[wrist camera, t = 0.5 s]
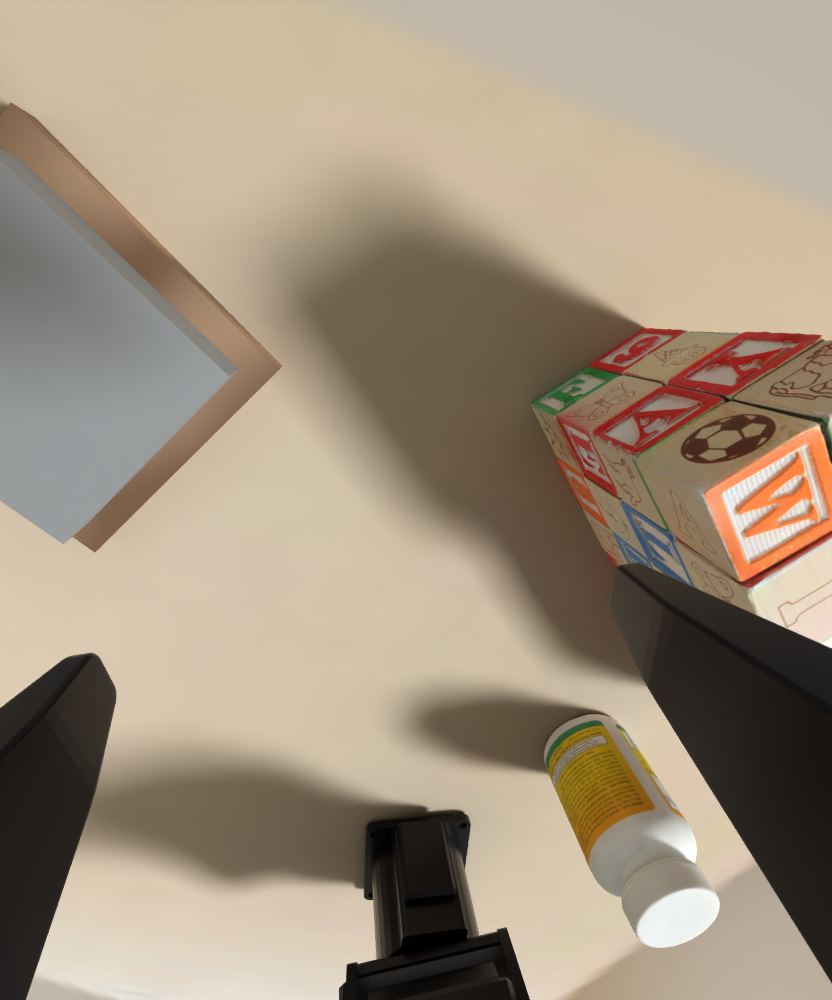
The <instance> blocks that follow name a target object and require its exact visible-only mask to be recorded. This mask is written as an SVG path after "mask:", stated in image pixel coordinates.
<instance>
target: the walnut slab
mask: <svg viewBox="0 0 832 1000" xmlns="http://www.w3.org/2000/svg"><path fill="white" fill-rule="evenodd" d="M0 149H1V150H3V151H5V152H7V153H9V154H11V155H14V156H16V157H18V158H19V159H20V160H21V161H22V162H23V163H24V164H25V165H26V166H28V167H29V168H30V169H31V170H32V171H33V172H34V173H35V174H36V175H37V176H38V177H39V178H40V179H41V180H42V181H43V182H44V183H45V184H46V185H47V186H48V187H49V188H50V189H52V190H53V191H54V192H55V193H56V194H57V195H58V196H59V197H60V198H61V199H62V200H63V201H64V202H65V203H66V204H67V205H68V206H69V207H70V208H71V209H72V210H73V211H74V212H76V213H77V214H78V215H79V216H80V217H81V218H82V219H83V220H84V221H85V222H86V223H87V224H88V225H89V226H90V227H91V228H92V229H93V230H94V231H95V232H96V233H97V234H98V235H100V236H101V237H102V238H103V239H104V240H105V241H106V242H107V243H108V244H109V245H110V246H111V247H112V248H113V249H114V250H115V251H116V252H117V253H118V254H119V255H120V256H121V257H123V258H124V259H125V260H126V261H127V262H128V263H129V264H130V265H131V266H132V267H133V268H134V269H135V270H136V271H137V272H138V273H139V274H140V275H141V276H142V277H143V278H144V279H145V280H147V281H148V282H149V283H150V284H151V285H152V286H153V287H154V288H155V289H156V290H157V291H158V292H159V293H160V294H161V295H162V296H163V297H164V298H165V299H166V300H167V301H168V302H169V303H171V304H172V305H173V306H174V307H175V308H176V309H177V310H178V311H179V312H180V313H181V314H182V315H183V316H184V317H185V318H186V319H187V320H188V321H189V322H190V323H191V324H192V325H193V326H195V327H196V328H197V329H198V330H199V331H200V332H201V333H202V334H203V335H204V336H205V337H206V338H207V339H208V340H209V341H210V342H211V343H212V344H213V345H214V346H215V347H216V348H218V349H219V350H220V351H221V352H222V353H223V354H224V355H225V356H226V357H227V358H228V359H229V360H230V361H231V362H232V363H233V364H234V365H235V366H236V367H237V368H238V369H239V370H238V371H237V372H236V373H235V374H234V375H233V376H232V377H231V378H230V379H229V380H228V381H227V382H226V383H225V384H224V385H223V386H222V387H221V388H220V389H219V391H218V392H217V393H216V394H215V395H214V396H213V397H212V398H211V399H210V400H209V401H208V402H207V403H206V404H205V405H204V406H203V407H202V408H201V409H200V410H199V411H198V412H197V413H196V414H195V415H194V416H193V417H192V418H191V419H190V420H189V421H188V422H187V423H186V424H185V425H184V426H183V427H182V428H181V429H180V430H179V431H178V432H177V433H176V434H175V435H174V436H173V437H172V438H171V439H170V440H169V441H168V442H167V443H166V444H165V445H164V446H163V447H162V448H161V450H160V451H159V452H158V453H157V454H156V455H155V456H154V457H153V458H152V459H151V460H150V461H149V462H148V463H147V464H146V465H145V466H144V467H143V468H142V469H141V470H140V471H139V472H138V473H137V474H136V475H135V476H134V477H133V478H132V479H131V480H130V481H129V482H128V483H127V484H126V485H125V486H124V487H123V488H122V489H121V490H120V491H119V492H118V493H117V494H116V495H115V496H114V497H113V498H112V499H111V500H110V501H109V502H108V503H107V504H106V505H105V506H104V507H103V509H102V510H101V511H100V512H99V513H98V514H97V515H96V516H95V517H94V518H93V519H92V520H91V521H90V522H89V523H88V524H86V525H85V526H84V527H83V528H82V529H81V530H79V531H78V532H77V533H76V534H75V535H74V536H72V537H74V538H75V539H77V540H78V541H79V542H81V543H82V544H84V545H85V546H87V547H88V548H89V549H91V550H92V551H94V552H96V551H97V550H98V549H99V548H100V547H101V546H102V545H103V544H104V543H105V542H106V541H107V540H108V539H109V538H110V537H111V536H112V535H113V534H114V533H115V532H116V531H117V530H118V529H119V528H120V527H121V526H122V525H123V524H124V523H125V522H126V521H127V520H128V519H129V518H130V517H131V516H132V515H133V514H134V513H135V512H136V511H137V510H138V509H139V508H140V507H141V506H142V505H143V504H144V503H145V502H146V501H147V500H148V499H149V498H150V497H151V496H152V495H153V494H154V493H155V492H156V491H157V490H158V489H159V488H160V487H161V486H162V485H163V484H164V483H165V482H166V481H167V480H168V479H169V478H170V477H171V476H172V475H173V474H175V473H176V472H177V471H178V470H179V469H180V468H181V467H182V466H183V465H184V464H185V463H186V462H187V461H188V460H189V459H190V458H191V457H192V456H193V455H194V454H195V453H196V452H197V451H198V450H199V449H200V448H201V447H202V446H203V445H204V444H205V443H206V442H207V441H208V440H209V439H210V438H211V437H212V436H213V435H214V434H215V433H216V432H217V431H218V430H219V429H220V428H221V427H222V426H223V425H224V424H225V423H226V422H227V421H228V420H229V419H230V418H231V417H232V416H233V415H234V414H235V413H236V412H237V411H238V410H239V409H240V408H241V407H242V406H243V405H244V404H245V403H246V402H247V401H248V400H249V399H250V398H251V397H252V396H253V395H254V394H255V393H256V392H257V391H258V390H259V389H260V388H261V387H262V386H263V385H264V384H265V383H266V382H267V381H268V380H269V379H270V378H271V377H272V376H273V375H274V374H275V373H276V372H277V371H278V370H279V369H280V368H281V367H282V365H281V364H280V363H279V362H278V361H277V360H276V359H275V358H274V357H273V356H272V355H271V354H270V353H269V352H268V351H267V350H266V349H265V348H264V347H263V346H262V345H261V344H260V343H259V342H258V341H257V340H256V339H255V338H254V337H253V336H252V335H251V334H250V333H249V332H248V331H247V330H246V329H245V328H244V327H243V326H242V325H241V324H240V323H239V322H238V321H237V320H236V319H235V318H234V317H233V316H232V315H231V314H230V313H229V312H228V311H227V310H226V309H225V308H224V307H223V306H222V305H221V304H220V303H219V302H218V301H217V300H216V299H215V298H214V297H213V296H212V295H211V294H210V293H209V292H208V291H207V290H206V289H205V288H204V287H203V286H202V285H201V284H200V283H199V282H198V281H197V280H196V279H195V278H194V277H193V276H192V275H191V274H190V273H189V272H188V271H187V270H186V269H185V268H184V267H183V266H182V265H181V264H180V263H179V262H178V261H177V260H176V259H175V258H174V257H173V256H172V255H171V254H170V253H169V252H168V251H167V250H166V249H165V248H164V247H163V246H162V245H161V243H160V242H159V241H158V240H157V239H156V238H155V237H154V236H153V235H152V234H151V233H150V232H149V231H148V230H147V229H146V228H145V227H144V226H143V225H142V224H141V223H140V222H139V221H138V220H137V219H136V218H135V217H134V216H133V215H132V214H131V213H130V212H129V211H128V210H127V209H126V208H125V207H124V206H123V205H122V204H121V203H120V202H119V201H118V200H117V199H116V198H115V197H114V196H113V195H112V194H111V193H110V192H109V191H108V190H107V189H106V188H105V187H104V186H103V185H102V184H101V183H100V182H99V181H98V180H97V179H96V178H95V177H94V176H93V175H92V174H91V173H90V172H89V171H88V170H87V169H86V168H85V167H84V166H83V165H82V164H81V163H80V162H79V161H78V160H77V159H76V158H75V157H74V156H73V155H72V154H71V153H70V152H69V151H68V150H67V149H66V148H65V147H64V146H63V145H62V144H61V143H60V142H59V141H58V140H57V139H56V138H55V137H54V136H53V135H52V134H51V133H50V132H49V131H48V130H47V129H46V128H45V127H44V126H43V125H42V124H41V123H40V122H39V121H38V120H37V119H36V118H35V117H33V116H32V115H30V114H29V113H27V112H25V111H24V110H22V109H21V108H19V107H17V106H16V105H14V104H13V103H10V104H9V105H8V107H7V108H6V109H5V110H4V112H3V113H2V114H1V115H0Z"/></svg>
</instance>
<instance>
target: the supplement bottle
mask: <svg viewBox="0 0 832 1000" xmlns="http://www.w3.org/2000/svg"><path fill="white" fill-rule="evenodd" d="M544 762H545V766H546V768H547V771H548V773H549V776H550V778H551V780H552V783H553V785H554V787H555V790H556V792H557V794H558V797H559V799H560V801H561V803H562V806H563V808H564V810H565V813H566V815H567V817H568V820H569V822H570V824H571V826H572V828H573V831H574V833H575V835H576V838H577V840H578V842H579V844H580V847H581V849H582V851H583V853H584V856H585V858H586V861H587V863H588V866H589V868H590V870H591V872H592V874H593V876H594V877H595V879H596V880H597V882H598V883H599V884H600V886H601V887H602V888H603V889H605V890H606V891H607V892H609V893H610V894H612V895H614V896H616V897H618V898H621V899H622V907H623V911H624V913H625V915H626V916H627V918H628V920H629V922H630V925H631V926H632V928H633V930H634V932H635V934H636V936H637V938H638V939H639V940H640V941H641V942H642V943H644V944H646V945H648V946H651V947H658V948H663V947H671V946H675V945H678V944H681V943H684V942H687V941H689V940H691V939H693V938H695V937H696V936H698V935H699V934H701V933H702V932H703V931H704V930H706V929H707V928H708V927H709V926H710V925H711V924H712V922H713V921H714V919H715V918H716V916H717V914H718V911H719V906H720V905H719V899H718V897H717V895H716V893H715V891H714V890H713V888H712V887H711V885H710V883H709V882H708V880H707V879H706V877H705V875H704V873H703V871H702V870H701V869H700V868H699V867H698V866H697V865H696V864H695V863H694V862H695V859H696V852H697V847H696V840H695V837H694V834H693V832H692V830H691V828H690V826H689V825H688V823H687V821H686V820H685V818H684V817H683V815H682V814H681V812H680V811H679V809H678V808H677V806H676V805H675V803H674V802H673V800H672V799H671V797H670V796H669V794H668V793H667V791H666V790H665V788H664V787H663V785H662V784H661V782H660V781H659V779H658V778H657V776H656V775H655V773H654V772H653V770H652V769H651V767H650V766H649V764H648V763H647V761H646V760H645V758H644V757H643V755H642V754H641V752H640V751H639V749H638V748H637V746H636V745H635V743H634V742H633V741H632V739H631V738H630V736H629V735H628V733H627V732H626V730H625V729H624V728H623V726H622V725H621V724H620V723H619V722H617V721H616V720H614V719H613V718H611V717H608V716H605V715H599V714H590V715H584V716H580V717H578V718H575V719H572V720H569V721H568V722H566V723H564V724H563V725H561V726H560V727H559V728H557V729H556V730H555V731H554V732H553V734H552V735H551V736H550V738H549V740H548V742H547V744H546V746H545V750H544Z"/></svg>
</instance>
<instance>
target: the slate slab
mask: <svg viewBox="0 0 832 1000" xmlns="http://www.w3.org/2000/svg"><path fill="white" fill-rule="evenodd" d="M238 370H239V369H238V368H237V367H236V366H235V365H234V364H233V363H232V362H231V361H230V360H229V359H228V358H227V357H226V356H225V355H224V354H223V353H222V352H221V351H220V350H219V349H218V348H216V347H215V346H214V345H213V344H212V343H211V342H210V341H209V340H208V339H207V338H206V337H205V336H204V335H203V334H202V333H201V332H200V331H199V330H198V329H197V328H196V327H195V326H193V325H192V324H191V323H190V322H189V321H188V320H187V319H186V318H185V317H184V316H183V315H182V314H181V313H180V312H179V311H178V310H177V309H176V308H175V307H174V306H173V305H172V304H171V303H169V302H168V301H167V300H166V299H165V298H164V297H163V296H162V295H161V294H160V293H159V292H158V291H157V290H156V289H155V288H154V287H153V286H152V285H151V284H150V283H149V282H148V281H147V280H145V279H144V278H143V277H142V276H141V275H140V274H139V273H138V272H137V271H136V270H135V269H134V268H133V267H132V266H131V265H130V264H129V263H128V262H127V261H126V260H125V259H124V258H123V257H121V256H120V255H119V254H118V253H117V252H116V251H115V250H114V249H113V248H112V247H111V246H110V245H109V244H108V243H107V242H106V241H105V240H104V239H103V238H102V237H101V236H100V235H98V234H97V233H96V232H95V231H94V230H93V229H92V228H91V227H90V226H89V225H88V224H87V223H86V222H85V221H84V220H83V219H82V218H81V217H80V216H79V215H78V214H77V213H76V212H74V211H73V210H72V209H71V208H70V207H69V206H68V205H67V204H66V203H65V202H64V201H63V200H62V199H61V198H60V197H59V196H58V195H57V194H56V193H55V192H54V191H53V190H52V189H50V188H49V187H48V186H47V185H46V184H45V183H44V182H43V181H42V180H41V179H40V178H39V177H38V176H37V175H36V174H35V173H34V172H33V171H32V170H31V169H30V168H29V167H28V166H26V165H25V164H24V163H23V162H22V161H21V160H20V159H19V158H18V157H16V156H14V155H11V154H9V153H7V152H5V151H3V150H1V149H0V501H2V502H3V503H5V504H6V505H8V506H9V507H10V508H12V509H13V510H15V511H16V512H18V513H19V514H21V515H22V516H24V517H25V518H26V519H28V520H29V521H31V522H32V523H34V524H35V525H37V526H38V527H39V528H41V529H42V530H44V531H45V532H47V533H48V534H50V535H51V536H52V537H54V538H55V539H57V540H58V541H60V542H61V543H63V544H64V543H65V542H67V541H68V540H69V539H70V538H71V537H72V536H74V535H75V534H76V533H77V532H78V531H79V530H81V529H82V528H83V527H84V526H85V525H86V524H88V523H89V522H90V521H91V520H92V519H93V518H94V517H95V516H96V515H97V514H98V513H99V512H100V511H101V510H102V509H103V507H104V506H105V505H106V504H107V503H108V502H109V501H110V500H111V499H112V498H113V497H114V496H115V495H116V494H117V493H118V492H119V491H120V490H121V489H122V488H123V487H124V486H125V485H126V484H127V483H128V482H129V481H130V480H131V479H132V478H133V477H134V476H135V475H136V474H137V473H138V472H139V471H140V470H141V469H142V468H143V467H144V466H145V465H146V464H147V463H148V462H149V461H150V460H151V459H152V458H153V457H154V456H155V455H156V454H157V453H158V452H159V451H160V450H161V448H162V447H163V446H164V445H165V444H166V443H167V442H168V441H169V440H170V439H171V438H172V437H173V436H174V435H175V434H176V433H177V432H178V431H179V430H180V429H181V428H182V427H183V426H184V425H185V424H186V423H187V422H188V421H189V420H190V419H191V418H192V417H193V416H194V415H195V414H196V413H197V412H198V411H199V410H200V409H201V408H202V407H203V406H204V405H205V404H206V403H207V402H208V401H209V400H210V399H211V398H212V397H213V396H214V395H215V394H216V393H217V392H218V391H219V389H220V388H221V387H222V386H223V385H224V384H225V383H226V382H227V381H228V380H229V379H230V378H231V377H232V376H233V375H234V374H235V373H236V372H237V371H238Z"/></svg>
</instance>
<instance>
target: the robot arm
mask: <svg viewBox="0 0 832 1000" xmlns="http://www.w3.org/2000/svg"><path fill="white" fill-rule="evenodd" d="M609 606H610V610H611V613H612V616H613V618H614V620H615V622H616V624H617V626H618V628H619V630H620V632H621V634H622V636H623V638H624V640H625V642H626V644H627V647H628V649H629V651H630V653H631V655H632V657H633V659H634V661H635V663H636V665H637V667H638V669H639V671H640V673H641V675H642V677H643V679H644V681H645V683H646V685H647V687H648V689H649V690H650V692H651V694H652V695H653V697H654V699H655V700H656V702H657V704H658V705H659V707H660V708H661V710H662V712H663V713H664V715H665V716H666V718H667V720H668V721H669V723H670V724H671V726H672V728H673V729H674V731H675V733H676V734H677V736H678V737H679V739H680V741H681V742H682V744H683V745H684V747H685V749H686V750H687V752H688V753H689V755H690V757H691V758H692V760H693V761H694V763H695V765H696V766H697V768H698V769H699V771H700V773H701V774H702V776H703V777H704V779H705V781H706V782H707V784H708V785H709V787H710V789H711V790H712V792H713V794H714V795H715V797H716V798H717V800H718V802H719V803H720V805H721V806H722V808H723V810H724V811H725V813H726V814H727V816H728V818H729V819H730V821H731V822H732V824H733V826H734V827H735V829H736V830H737V832H738V834H739V835H740V837H741V838H742V840H743V842H744V843H745V845H746V846H747V848H748V850H749V851H750V853H751V854H752V856H753V858H754V859H755V861H756V863H757V864H758V866H759V867H760V869H761V871H762V872H763V874H764V875H765V877H766V878H767V880H768V882H769V883H770V885H771V887H772V888H773V890H774V891H775V893H776V894H777V896H778V898H779V899H780V901H781V902H782V904H783V906H784V907H785V909H786V911H787V912H788V914H789V915H790V917H791V919H792V920H793V922H794V923H795V925H796V927H797V928H798V930H799V932H800V933H801V935H802V936H803V938H804V939H805V941H806V943H807V944H808V946H809V947H810V949H811V950H812V952H813V954H814V956H815V957H816V959H817V960H818V962H819V963H820V965H821V967H822V968H823V970H824V972H825V973H826V975H827V976H828V978H829V980H830V981H831V983H832V648H830V647H828V646H826V645H823V644H821V643H819V642H817V641H814V640H812V639H810V638H807V637H805V636H803V635H801V634H798V633H796V632H794V631H792V630H789V629H787V628H785V627H783V626H780V625H778V624H776V623H774V622H771V621H769V620H767V619H765V618H762V617H760V616H758V615H756V614H753V613H751V612H749V611H747V610H744V609H742V608H740V607H738V606H735V605H733V604H731V603H729V602H726V601H724V600H722V599H720V598H717V597H715V596H713V595H711V594H708V593H706V592H704V591H702V590H699V589H697V588H695V587H693V586H690V585H688V584H686V583H683V582H681V581H679V580H677V579H674V578H672V577H670V576H668V575H665V574H663V573H661V572H659V571H656V570H654V569H652V568H650V567H647V566H645V565H643V564H640V563H629V564H623V565H618V566H617V567H615V569H614V571H613V576H612V583H611V591H610V598H609ZM115 704H116V689H115V686H114V684H113V682H112V680H111V678H110V676H109V674H108V672H107V670H106V669H105V667H104V665H103V663H102V661H101V659H100V658H99V656H97V655H96V654H94V653H86V654H80V655H74V656H70V657H67V658H65V659H63V660H62V661H61V662H59V663H58V664H57V665H55V666H54V667H53V668H51V669H50V670H49V671H48V672H46V673H45V674H44V675H42V676H41V677H40V678H39V679H37V680H36V681H35V682H33V683H32V684H31V685H29V686H28V687H27V688H26V689H24V690H23V691H22V692H20V693H19V694H18V695H16V696H15V697H14V698H13V699H11V700H10V701H9V702H7V703H6V704H5V705H4V706H2V707H1V708H0V1000H26V998H27V995H28V992H29V989H30V986H31V983H32V980H33V977H34V974H35V971H36V968H37V965H38V962H39V959H40V956H41V953H42V950H43V947H44V944H45V941H46V938H47V935H48V932H49V929H50V926H51V923H52V920H53V917H54V914H55V912H56V909H57V906H58V903H59V900H60V897H61V894H62V891H63V888H64V885H65V882H66V879H67V876H68V873H69V870H70V867H71V864H72V861H73V858H74V855H75V852H76V849H77V846H78V843H79V840H80V837H81V834H82V831H83V828H84V825H85V822H86V819H87V816H88V813H89V810H90V807H91V804H92V801H93V798H94V794H95V791H96V787H97V783H98V779H99V775H100V771H101V766H102V762H103V757H104V753H105V748H106V744H107V739H108V735H109V730H110V726H111V721H112V717H113V712H114V708H115ZM470 826H471V825H470V820H469V817H468V816H467V815H465V814H458V815H447V816H437V817H426V818H416V819H405V820H395V821H384V822H374V823H370V824H368V825H367V826H366V829H365V861H364V898H365V899H367V900H373V905H374V923H375V940H376V958H377V960H373V961H369V962H364V963H360V964H358V963H357V962H355V963H350V964H347V973H346V982H345V983H343V985H342V986H341V987H340V988H339V1000H530V999H529V996H528V993H527V989H526V986H525V983H524V980H523V977H522V974H521V971H520V968H519V965H518V962H517V958H516V955H515V952H514V949H513V946H512V943H511V940H510V937H509V934H508V931H507V928H506V927H505V928H500V929H497V932H493V933H489V934H484V935H480V936H479V932H478V927H477V923H476V918H475V914H474V909H473V905H472V900H471V896H470V891H469V887H468V882H467V878H466V873H465V864H466V856H467V849H468V841H469V833H470Z"/></svg>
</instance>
